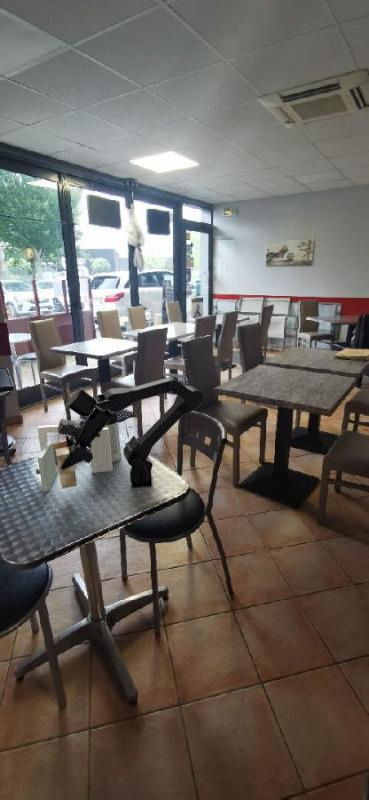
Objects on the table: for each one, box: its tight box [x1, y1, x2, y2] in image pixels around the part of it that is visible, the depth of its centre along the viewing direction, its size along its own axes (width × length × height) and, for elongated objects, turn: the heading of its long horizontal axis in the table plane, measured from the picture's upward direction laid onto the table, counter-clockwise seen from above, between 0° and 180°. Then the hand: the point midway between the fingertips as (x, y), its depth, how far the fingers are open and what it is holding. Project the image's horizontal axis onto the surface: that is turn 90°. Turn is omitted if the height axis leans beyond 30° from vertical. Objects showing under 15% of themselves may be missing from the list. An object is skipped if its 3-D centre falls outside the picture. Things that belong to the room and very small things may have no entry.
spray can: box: [104, 409, 122, 463], centre depth 146 cm, size 7×7×20 cm
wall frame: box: [37, 424, 114, 474], centre depth 137 cm, size 23×2×18 cm, turn 93°
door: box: [35, 441, 58, 492], centre depth 132 cm, size 12×3×12 cm, turn 3°
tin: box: [52, 438, 88, 467], centre depth 148 cm, size 15×3×8 cm, turn 132°
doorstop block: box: [56, 446, 78, 490], centre depth 121 cm, size 4×5×11 cm
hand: (61, 465), depth 120 cm, fingers closed on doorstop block, 5 cm apart
